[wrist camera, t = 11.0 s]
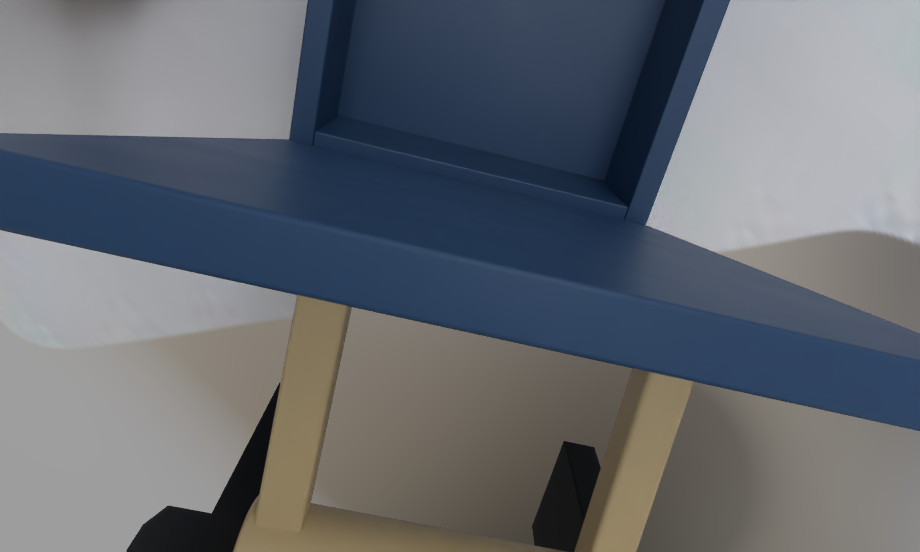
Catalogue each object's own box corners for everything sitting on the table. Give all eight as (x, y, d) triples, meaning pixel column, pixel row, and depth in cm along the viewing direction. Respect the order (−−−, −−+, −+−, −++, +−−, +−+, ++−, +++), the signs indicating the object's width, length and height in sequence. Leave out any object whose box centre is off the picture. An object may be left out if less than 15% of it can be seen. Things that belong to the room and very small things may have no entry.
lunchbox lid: (-87, 129, 6) (-117, 710, 7) (1089, 400, 7) (868, 859, 8) (286, 139, 20) (251, 332, 21) (649, 226, 21) (594, 405, 22)
